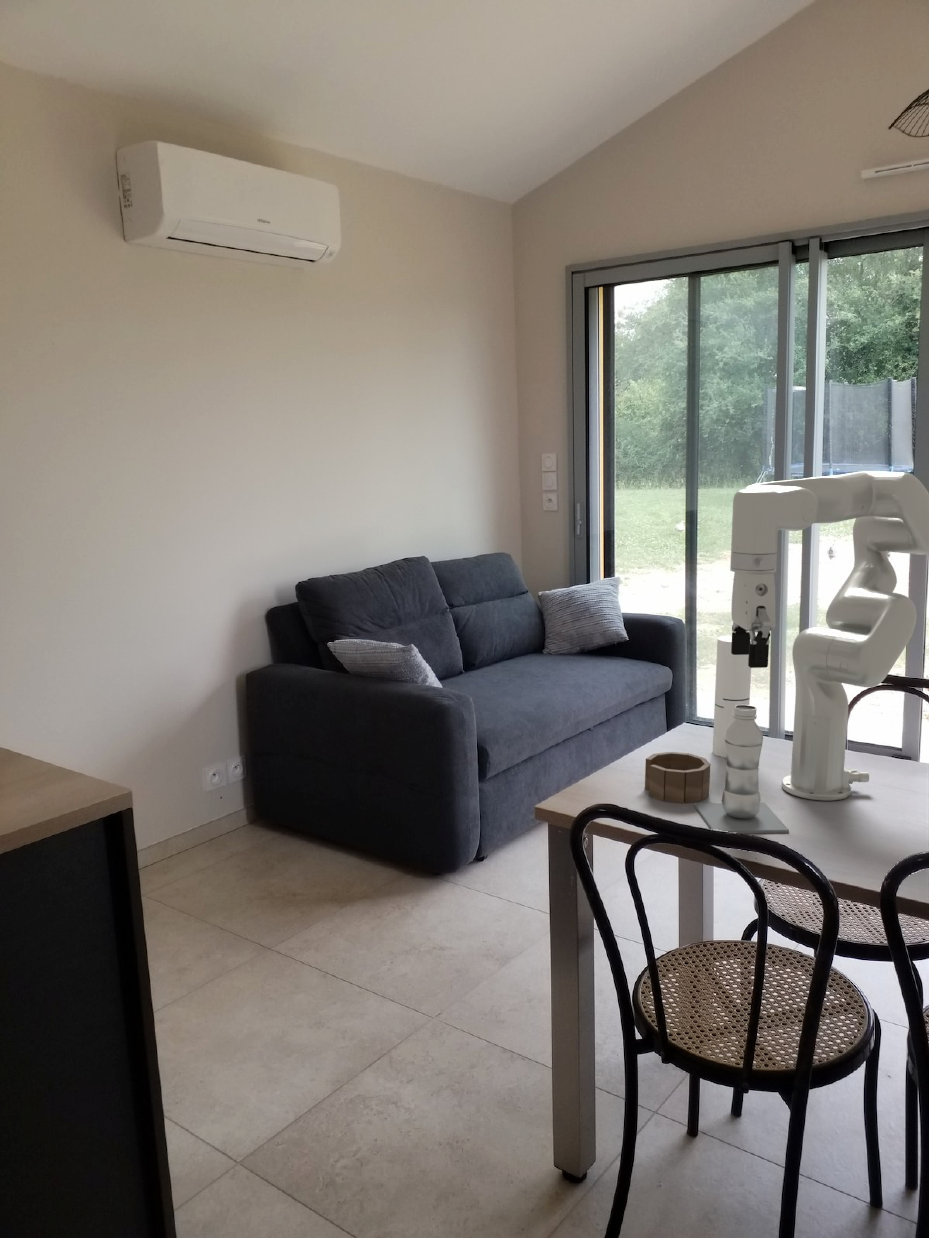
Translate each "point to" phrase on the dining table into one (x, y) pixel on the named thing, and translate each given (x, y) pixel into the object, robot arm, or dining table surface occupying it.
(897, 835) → the dining table surface
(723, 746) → the cylindrical container
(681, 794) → the ring holder
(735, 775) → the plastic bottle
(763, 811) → the rubber mat
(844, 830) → the dining table surface
